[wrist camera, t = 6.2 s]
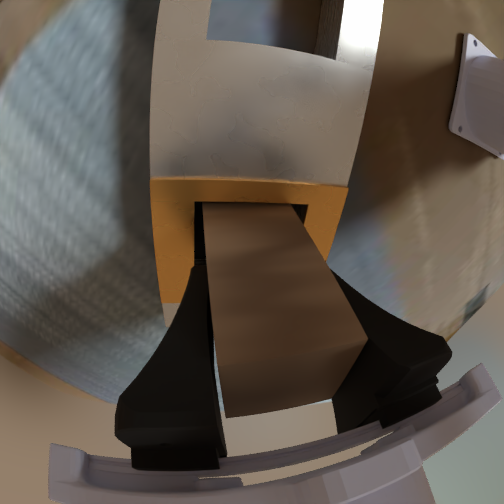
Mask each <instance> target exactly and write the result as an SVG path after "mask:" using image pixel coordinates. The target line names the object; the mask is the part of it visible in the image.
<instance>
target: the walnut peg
mask: <svg viewBox="0 0 504 504" xmlns="http://www.w3.org/2000/svg"><path fill="white" fill-rule="evenodd" d="M202 206H203V222H204V236H205V249H206V262H207V273H208V284H209V295H210V305H211V314H212V324H213V333H214V341H215V349H216V357H217V365H218V372H219V379H220V385H221V392H222V398H223V404H224V410H225V416H226V418H231V417H240V416H247V415H254V414H261V413H267V412H273V411H278V410H283V409H288V408H293V407H298V406H303V405H307V404H311V403H315V402H320V401H323V400H327V399H331V398H332V397H333V396H334V394H335V393H336V391H337V390H338V388H339V387H340V385H341V383H342V382H343V380H344V379H345V377H346V376H347V374H348V372H349V371H350V369H351V368H352V366H353V364H354V363H355V361H356V359H357V357H358V356H359V354H360V352H361V351H362V349H363V347H364V345H365V344H366V342H367V340H368V337H367V335H366V334H365V332H364V330H363V328H362V326H361V324H360V322H359V320H358V319H357V317H356V315H355V313H354V311H353V309H352V307H351V306H350V304H349V302H348V300H347V298H346V297H345V295H344V293H343V291H342V289H341V288H340V286H339V284H338V282H337V281H336V279H335V277H334V275H333V274H332V272H331V270H330V268H329V267H328V265H327V263H326V262H325V260H324V258H323V257H322V255H321V253H320V251H319V250H318V248H317V246H316V245H315V243H314V241H313V240H312V238H311V237H310V235H309V233H308V232H307V230H306V228H305V227H304V225H303V224H302V222H301V220H300V219H299V217H298V215H297V214H296V212H295V211H294V209H293V208H292V206H291V204H288V203H262V202H210V201H202Z"/></svg>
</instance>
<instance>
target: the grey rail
mask: <svg viewBox="0 0 504 504" xmlns="http://www.w3.org/2000/svg"><path fill="white" fill-rule="evenodd" d="M211 1H212V0H160V6H159V13H158V20H157V27H156V35H155V44H154V54H153V66H152V80H151V100H150V197H151V213H152V226H153V238H154V248H155V258H156V266H157V275H158V282H159V290H160V297H161V303H162V306H163V313H164V319H165V325H166V327H170V325H171V323H172V321H173V319H174V316H175V314H176V312H177V310H178V308H179V305H180V303H181V300H182V298H183V295H184V292H185V289H186V286H187V283H188V280H189V276H190V271H191V268H192V267H193V266H202V265H207V262H206V259H194V201H210V202H262V203H288V204H291V206H292V208H293V209H294V211H295V212H296V214H297V215H298V217H299V219H300V220H301V222H302V224H303V225H304V227H305V228H306V230H307V232H308V233H309V235H310V237H311V238H312V240H313V241H314V243H315V245H316V246H317V248H318V250H319V251H320V253H321V255H322V257H323V258H324V260H325V262H326V260H327V257H328V254H329V251H330V248H331V245H332V242H333V239H334V236H335V233H336V230H337V226H338V223H339V220H340V217H341V213H342V210H343V207H344V203H345V200H346V196H347V193H348V189H349V188H348V187H347V185H348V181H349V177H350V174H351V170H352V166H353V162H354V158H355V154H356V150H357V146H358V142H359V138H360V134H361V129H362V125H363V120H364V116H365V111H366V106H367V102H368V97H369V92H370V87H371V81H372V76H373V70H374V65H375V59H376V52H377V46H378V39H379V32H380V24H381V16H382V8H383V0H322V4H321V11H320V18H319V25H318V32H317V39H316V45H315V52H314V55H313V54H309V53H305V52H300V51H295V50H290V49H285V48H279V47H273V46H266V45H259V44H251V43H242V42H232V41H218V40H206V35H207V28H208V21H209V14H210V7H211Z"/></svg>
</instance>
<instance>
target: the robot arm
mask: <svg viewBox="0 0 504 504" xmlns="http://www.w3.org/2000/svg"><path fill="white" fill-rule="evenodd" d="M449 130H450V131H451V132H453V133H455V134H457V135H459V136H461V137H463V138H465V139H467V140H469V141H471V142H473V143H475V144H476V145H478V146H480V147H482V148H484V149H486V150H487V151H489V152H491V153H493V154H494V155H496V156H498V157H499V158H501V159H503V160H504V60H503V59H500V58H497V57H496V56H495V55H494V54H493V53H492V52H491V51H490V50H489V49H487V48H486V47H485V46H484V45H483V44H482V43H481V42H480V41H479V40H477V39H476V38H475V37H474V36H473V35H472V34H470V33H465V34H464V40H463V49H462V58H461V65H460V72H459V78H458V84H457V89H456V94H455V99H454V104H453V109H452V113H451V117H450V121H449ZM330 270H331V269H330ZM331 272H332V274H333V275H334V277H335V279H336V281H337V282H338V284H339V286H340V288H341V289H342V291H343V293H344V295H345V297H346V298H347V300H348V302H349V304H350V306H351V307H352V309H353V311H354V313H355V315H356V317H357V319H358V320H359V322H360V324H361V326H362V328H363V330H364V332H365V334H366V335H367V337H368V340H367V342H366V344H365V345H364V347H363V349H362V351H361V352H360V354H359V356H358V357H357V359H356V361H355V363H354V364H353V366H352V368H351V369H350V371H349V372H348V374H347V376H346V377H345V379H344V380H343V382H342V383H341V385H340V387H339V388H338V390H337V391H336V393H335V394H334V396H333V397H332V403H333V408H334V413H335V418H336V425H337V432H338V435H335V436H331V437H328V438H325V439H321V440H317V441H313V442H310V443H305V444H301V445H297V446H293V447H288V448H283V449H278V450H274V451H268V452H262V453H256V454H249V455H242V456H234V457H227V450H226V444H225V438H224V433H223V426H222V420H221V414H220V407H219V400H218V393H217V386H216V379H215V369H214V333H213V324H212V314H211V305H210V295H209V284H208V273H207V265H202V266H193V267H192V268H191V271H190V276H189V280H188V283H187V286H186V289H185V292H184V295H183V298H182V300H181V303H180V305H179V308H178V310H177V312H176V314H175V316H174V319H173V321H172V323H171V325H170V327H169V329H168V331H167V332H166V334H165V336H164V338H163V339H162V341H161V343H160V344H159V346H158V348H157V349H156V351H155V352H154V354H153V355H152V357H151V358H150V360H149V361H148V362H147V364H146V365H145V366H144V368H143V369H142V370H141V372H140V373H139V374H138V376H137V377H136V378H135V379H134V380H133V382H132V383H131V384H130V385H129V386H128V387H127V388H126V390H125V391H124V392H123V393H122V394H121V395H120V396H119V400H118V403H117V408H116V413H115V436H116V437H117V438H118V439H119V440H120V441H121V442H123V443H124V444H126V445H127V446H129V447H130V448H131V459H123V458H113V457H104V456H96V455H90V454H87V453H86V452H84V451H82V450H80V449H77V448H73V447H68V446H63V445H58V444H53V443H51V444H50V451H49V476H48V483H49V485H48V486H49V487H48V489H49V499H50V500H52V501H55V502H59V503H62V504H435V500H434V497H433V495H432V492H431V489H430V486H429V483H428V481H427V478H426V475H425V472H424V470H423V467H422V464H423V461H425V460H426V459H428V458H429V457H431V456H432V455H433V454H435V453H437V452H438V451H440V450H441V449H443V448H444V447H446V446H447V445H448V444H449V443H451V442H452V441H454V440H455V439H456V438H457V437H459V436H460V435H462V434H463V433H464V432H465V431H467V430H468V429H469V428H470V427H472V426H473V425H474V424H475V423H476V422H477V421H479V420H480V419H481V418H482V417H483V416H484V415H486V414H487V413H488V412H489V411H490V410H492V409H493V408H494V407H495V406H496V405H497V404H498V403H499V402H501V401H502V397H501V395H500V393H499V391H498V389H497V387H496V386H495V384H494V382H493V380H492V378H491V377H490V375H489V373H488V371H487V370H486V368H485V366H484V365H483V363H480V364H479V365H477V366H476V367H474V368H472V369H471V370H470V371H468V372H467V373H466V374H465V375H464V376H463V377H462V378H461V379H460V380H459V381H458V382H456V383H455V384H453V385H451V386H449V387H447V388H446V389H444V390H442V391H440V392H439V390H438V388H437V386H436V384H437V383H438V379H437V377H436V375H437V373H438V372H440V370H441V369H442V368H443V367H444V366H445V365H446V364H447V363H448V361H449V360H450V359H451V357H452V351H451V349H450V347H449V346H448V344H447V343H446V341H445V339H444V338H443V337H442V336H439V335H436V334H434V333H431V332H428V331H425V330H423V329H420V328H418V327H416V326H414V325H411V324H409V323H407V322H405V321H403V320H401V319H399V318H397V317H396V316H394V315H392V314H390V313H388V312H387V311H385V310H383V309H382V308H380V307H379V306H377V305H376V304H374V303H373V302H371V301H370V300H368V299H367V298H365V297H364V296H363V295H361V294H360V293H359V292H358V291H356V290H355V289H354V288H352V287H351V286H350V285H349V284H347V283H346V282H345V281H344V280H343V279H341V278H340V277H339V276H338V275H337V274H336V273H335V272H333V271H332V270H331ZM393 431H394V432H393ZM390 432H393V433H391V434H390V435H387V436H385V437H383V438H381V439H379V440H378V441H377V442H376V443H375V444H373V445H371V446H370V447H368V448H366V449H364V450H363V451H361V455H359V456H357V457H354V458H351V459H348V460H346V461H342V462H339V463H336V464H333V465H330V466H327V467H324V468H320V469H317V470H314V471H310V472H306V473H303V474H299V475H296V476H291V477H287V478H283V479H278V480H274V481H269V482H264V483H259V484H253V485H247V486H243V483H242V481H241V478H239V477H232V478H231V477H230V478H204V479H199V478H202V477H217V476H228V475H237V474H245V473H252V472H258V471H264V470H270V469H275V468H280V467H285V466H290V465H294V464H298V463H302V462H306V461H310V460H314V459H318V458H321V457H324V456H328V455H331V454H335V453H338V452H341V451H344V450H346V449H350V448H353V447H355V446H358V445H361V444H364V443H366V442H369V441H371V440H374V439H376V438H379V437H381V436H383V435H386V434H388V433H390Z"/></svg>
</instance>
